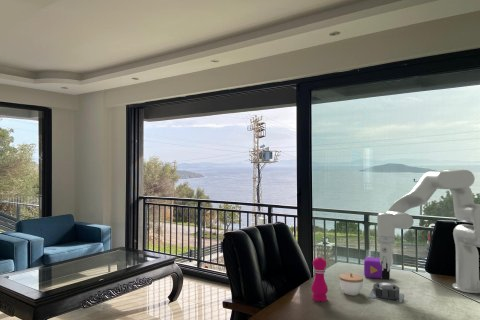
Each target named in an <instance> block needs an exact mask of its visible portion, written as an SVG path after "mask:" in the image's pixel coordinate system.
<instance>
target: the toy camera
mask: <svg viewBox="0 0 480 320" xmlns="http://www.w3.org/2000/svg"><path fill="white" fill-rule="evenodd" d="M389 271H390V272H391V266H389ZM363 274H364V277H365V278H371V279H379V280H380V279H381V280H382V265H381V264H380V257H371V256H370V255H369V256H366V257H365V259H364V262H363Z"/></svg>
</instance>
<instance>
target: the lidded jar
mask: <svg viewBox="0 0 480 320" xmlns="http://www.w3.org/2000/svg"><path fill="white" fill-rule="evenodd" d="M339 285H340V288H341V291H343V292H344V294H345V295H348V296H358V295H359V294H360V292H361V291H362V290H363V285H364V277H362V275H359V274H356V273H353V272H350V273H341V274H339Z"/></svg>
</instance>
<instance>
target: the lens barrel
mask: <svg viewBox="0 0 480 320" xmlns="http://www.w3.org/2000/svg"><path fill="white" fill-rule="evenodd" d="M379 283H380V282H377V283H374V284H373V286H372V287H373V288H372V289H371V291H370V293H369V295H368V298H369V299H376V300H381V301H386V302H387V301H388V302H394V303H399V304H403V299H404V297H405V294H404V293H400V286H398V285H395V284H393V290H387V289H382V288H379Z"/></svg>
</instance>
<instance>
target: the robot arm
mask: <svg viewBox="0 0 480 320" xmlns="http://www.w3.org/2000/svg"><path fill="white" fill-rule="evenodd" d="M474 183H475V175H474V173H473V172H472V171H470V170H468V169H444V170H431V171H430V170H429V171H426V172H425V173H424V174H423V175H422V176H421V178H420V179H419V180H418V181H417V183H416V184H415V185H414V186H413V188H412V189H411V190H410V191H409V192H408V193H406V194H405V195H402V197H400V198H399V199H397V200H396V201H394V202H393V203H392V204H391V205H390V206H389V208H388V209H387V211H385V212H378V213H377V217H376V218H377V219H376V220H377V221H376V223H377V224H376V227H377V228H376V231H377V232H376V239H377V243H379V258H380V264H381V265H382V278H381V280H384V281H390V278H391V275H390V273H391V270H390V271H389V267H392V265H393V263H394V254H393V253H394V250H393V249H394V248H393V245H394V244H396V243H395V242H396V241H395V238H396V237H395V236H396V235H395V232H396V229H399V230H400V229H401V230H407V229H410V228H412V226H413V225H414V218H413V216H412V215H410V214H408V213H407V211H409V210H411V209H414V208H417V207H421V206H423V205H425V204H427V203H428V201H429V200H430V199H431V198H432V196H433V194H434V193H435V192H436V191H437V190H449V192H450V193H451V196H452V201H453V202H452V204H453V210H454V217H455V219H456V220H457V221H460V222H463V223H464V224H463V223H462V224H460V223H459V224H458V225H456V226H455V227H454V228H453V232H452V235H453V240H454V244H455V245H454V246H455V283H453V284H452V288H453V289H454V290H457V291H460V292H463V293H470V294H480V268H479V267H480V262H479V261H480V259H479V258H480V255H479V250H478V248H480V204H479V203H475V202H474V201H475V200H474V196H473V192H472V189H471V186H473V184H474ZM466 223H467V224H466Z"/></svg>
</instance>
